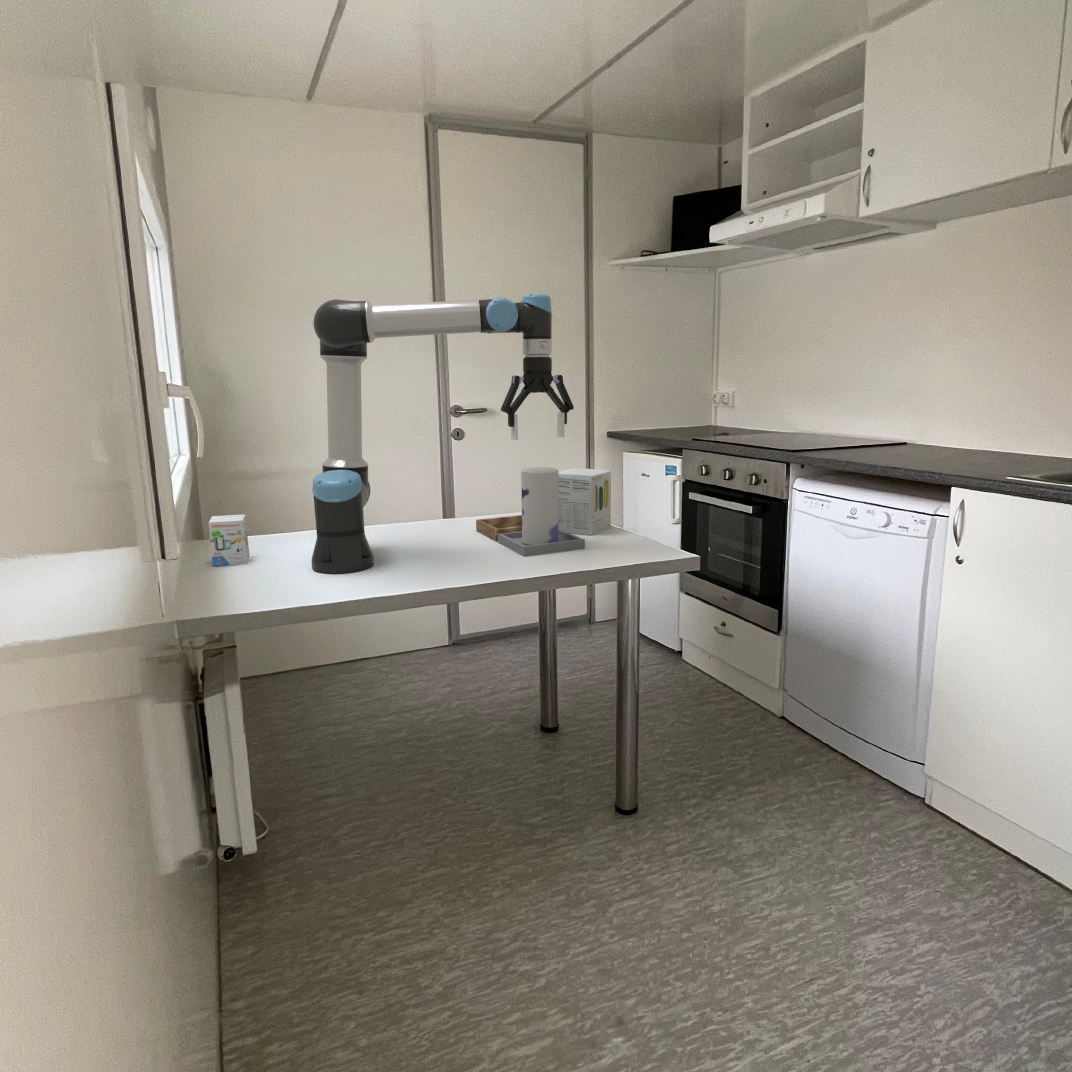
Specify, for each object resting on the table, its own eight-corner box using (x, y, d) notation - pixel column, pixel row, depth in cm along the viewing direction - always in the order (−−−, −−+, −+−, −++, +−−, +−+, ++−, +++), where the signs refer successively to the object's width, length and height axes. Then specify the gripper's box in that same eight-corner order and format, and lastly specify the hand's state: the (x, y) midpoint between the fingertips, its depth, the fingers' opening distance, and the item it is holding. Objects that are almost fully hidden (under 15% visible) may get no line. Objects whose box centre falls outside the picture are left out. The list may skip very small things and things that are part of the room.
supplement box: (591, 536, 224) (591, 475, 221) (552, 531, 231) (551, 473, 227) (611, 527, 235) (612, 470, 232) (573, 523, 242) (573, 467, 238)
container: (517, 538, 217) (516, 467, 212) (551, 536, 219) (551, 465, 215) (527, 547, 207) (527, 473, 202) (563, 544, 210) (563, 471, 205)
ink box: (212, 566, 197) (206, 521, 194) (216, 558, 205) (211, 515, 202) (247, 564, 199) (243, 519, 197) (250, 556, 207) (246, 513, 205)
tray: (523, 556, 202) (523, 547, 201) (497, 542, 218) (497, 533, 217) (585, 548, 209) (584, 539, 209) (555, 535, 225) (555, 527, 225)
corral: (496, 541, 219) (496, 529, 218) (476, 531, 233) (475, 519, 232) (547, 535, 225) (547, 523, 225) (525, 525, 239) (524, 514, 239)
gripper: (498, 356, 194) (500, 441, 199) (586, 355, 204) (586, 437, 209) (487, 356, 201) (489, 439, 205) (573, 356, 211) (573, 434, 215)
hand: (538, 438), depth 207 cm, fingers open, 13 cm apart
